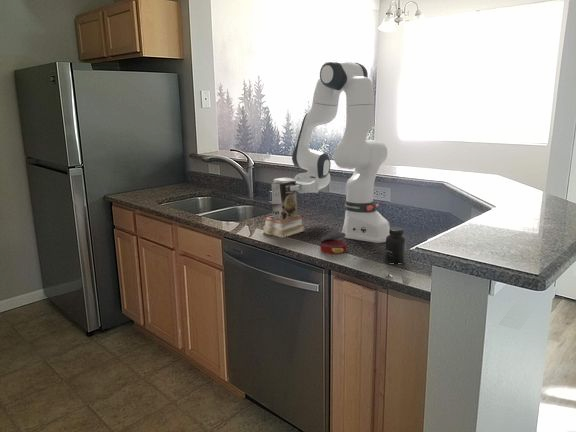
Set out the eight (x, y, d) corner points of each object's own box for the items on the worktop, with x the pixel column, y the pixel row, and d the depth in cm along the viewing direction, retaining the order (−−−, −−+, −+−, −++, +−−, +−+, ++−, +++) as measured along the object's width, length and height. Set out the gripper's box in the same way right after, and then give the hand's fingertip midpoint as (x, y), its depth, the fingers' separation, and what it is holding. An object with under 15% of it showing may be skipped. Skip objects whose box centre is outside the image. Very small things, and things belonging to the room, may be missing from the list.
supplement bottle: (383, 263, 158) (384, 230, 155) (386, 257, 164) (387, 225, 161) (403, 266, 155) (405, 232, 153) (405, 259, 162) (407, 227, 159)
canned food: (322, 264, 171) (310, 241, 170) (330, 254, 180) (318, 231, 179) (349, 255, 166) (336, 231, 164) (355, 244, 174) (343, 221, 173)
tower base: (303, 230, 199) (303, 215, 197) (282, 237, 189) (282, 222, 188) (284, 226, 206) (284, 212, 204) (263, 233, 196) (263, 217, 195)
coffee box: (283, 222, 191) (281, 183, 188) (272, 220, 195) (270, 182, 192) (298, 218, 197) (296, 180, 194) (287, 216, 202) (285, 180, 198)
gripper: (285, 173, 209) (264, 177, 199) (321, 178, 196) (300, 182, 186) (285, 187, 210) (264, 191, 200) (321, 193, 197) (300, 198, 187)
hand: (282, 187), depth 193 cm, fingers open, 7 cm apart
